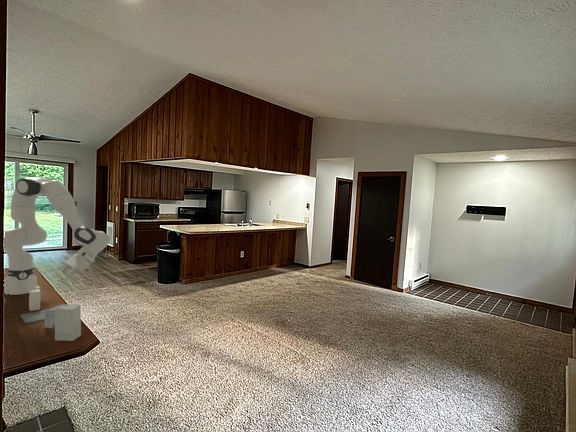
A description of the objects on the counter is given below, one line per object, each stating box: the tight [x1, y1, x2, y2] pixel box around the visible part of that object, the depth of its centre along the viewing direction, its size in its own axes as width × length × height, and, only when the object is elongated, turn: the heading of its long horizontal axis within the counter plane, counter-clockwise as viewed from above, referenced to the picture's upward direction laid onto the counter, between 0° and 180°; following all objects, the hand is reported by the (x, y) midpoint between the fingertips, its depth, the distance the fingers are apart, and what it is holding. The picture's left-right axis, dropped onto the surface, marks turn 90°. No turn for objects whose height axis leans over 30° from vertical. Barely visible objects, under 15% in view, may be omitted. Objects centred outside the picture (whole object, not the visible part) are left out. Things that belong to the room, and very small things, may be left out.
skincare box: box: [54, 303, 82, 342], centre depth 139 cm, size 8×6×15 cm
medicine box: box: [44, 304, 61, 329], centre depth 151 cm, size 8×4×9 cm, turn 168°
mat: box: [19, 309, 46, 325], centre depth 158 cm, size 12×14×1 cm
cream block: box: [28, 289, 42, 312], centre depth 166 cm, size 4×4×10 cm
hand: (65, 274), depth 176 cm, fingers open, 8 cm apart
